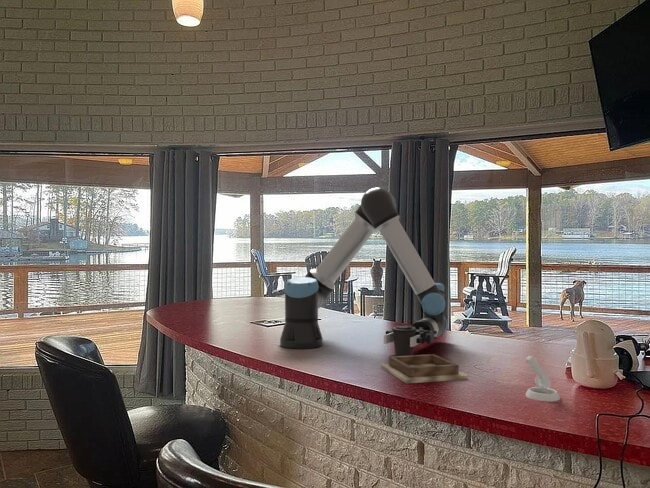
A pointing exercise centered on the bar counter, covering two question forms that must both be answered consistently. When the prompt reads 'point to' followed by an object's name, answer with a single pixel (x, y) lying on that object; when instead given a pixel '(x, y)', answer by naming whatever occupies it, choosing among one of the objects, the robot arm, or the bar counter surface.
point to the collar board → (423, 369)
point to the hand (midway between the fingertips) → (398, 341)
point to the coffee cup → (403, 340)
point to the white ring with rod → (541, 384)
